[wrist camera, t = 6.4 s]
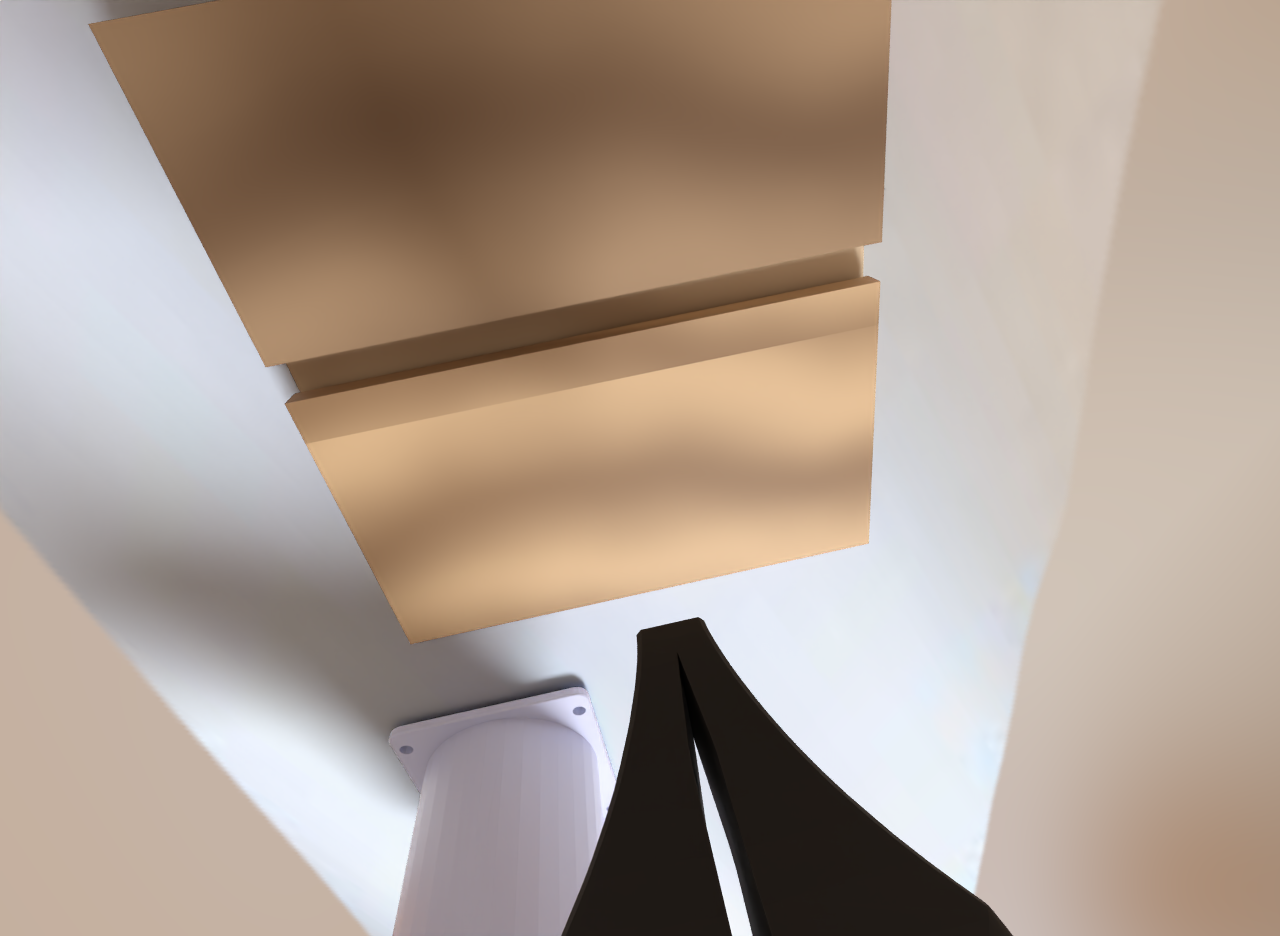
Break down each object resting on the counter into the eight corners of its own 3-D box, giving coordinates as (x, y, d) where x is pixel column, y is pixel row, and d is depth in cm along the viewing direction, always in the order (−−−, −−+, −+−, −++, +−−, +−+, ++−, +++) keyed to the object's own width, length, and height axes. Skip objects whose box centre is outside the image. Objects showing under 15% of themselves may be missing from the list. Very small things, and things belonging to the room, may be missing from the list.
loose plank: (850, 520, 22) (868, 543, 20) (418, 614, 21) (410, 644, 20) (856, 270, 17) (880, 281, 16) (304, 383, 16) (284, 403, 15)
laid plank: (856, 298, 17) (878, 310, 16) (316, 409, 17) (298, 430, 16) (864, -100, 13) (896, -125, 12) (133, 35, 12) (88, 24, 11)
